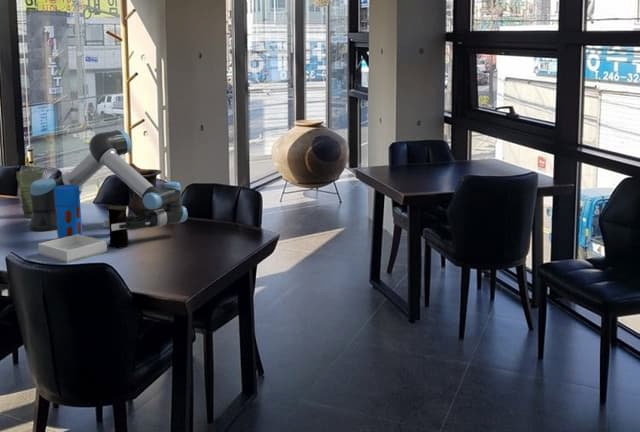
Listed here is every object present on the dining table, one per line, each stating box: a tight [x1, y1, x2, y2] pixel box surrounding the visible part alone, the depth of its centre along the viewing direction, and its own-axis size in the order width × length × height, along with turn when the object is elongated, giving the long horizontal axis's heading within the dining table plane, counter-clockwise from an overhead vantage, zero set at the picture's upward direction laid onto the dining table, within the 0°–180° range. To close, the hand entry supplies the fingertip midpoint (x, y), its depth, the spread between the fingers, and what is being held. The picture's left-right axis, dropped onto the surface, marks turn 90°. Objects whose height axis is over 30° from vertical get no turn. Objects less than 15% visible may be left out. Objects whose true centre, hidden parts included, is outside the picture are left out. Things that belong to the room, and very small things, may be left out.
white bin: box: [37, 234, 108, 264], centre depth 319 cm, size 20×20×5 cm
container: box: [107, 204, 130, 249], centre depth 330 cm, size 9×9×18 cm
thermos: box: [54, 185, 83, 239], centre depth 339 cm, size 11×11×25 cm
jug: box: [127, 162, 165, 216], centre depth 369 cm, size 21×18×30 cm
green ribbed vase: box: [15, 167, 45, 218], centre depth 385 cm, size 11×12×25 cm
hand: (107, 225), depth 327 cm, fingers closed on container, 8 cm apart
